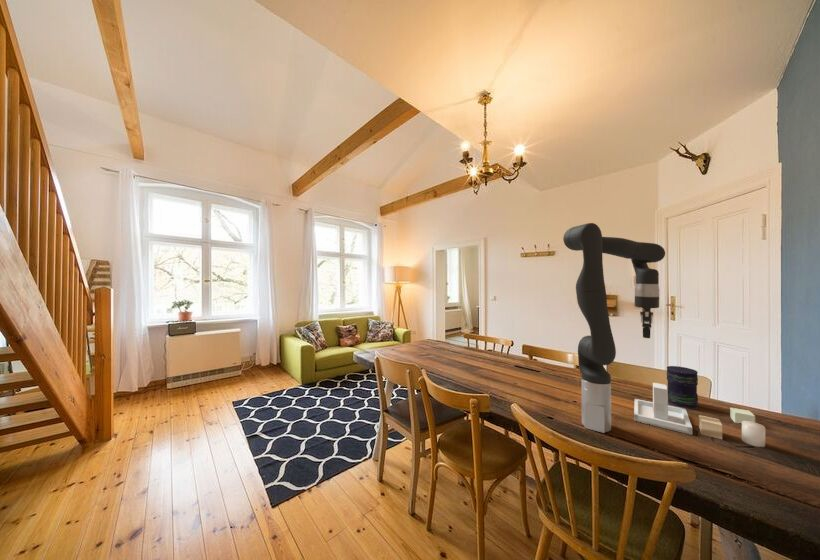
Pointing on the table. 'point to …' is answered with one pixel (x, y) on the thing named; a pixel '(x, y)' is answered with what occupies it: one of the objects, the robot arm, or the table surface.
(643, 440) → the table surface
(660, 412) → the skincare box
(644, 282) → the robot arm
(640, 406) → the tray
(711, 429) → the beech block
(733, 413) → the sage block
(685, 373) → the storage jar
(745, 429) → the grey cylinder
